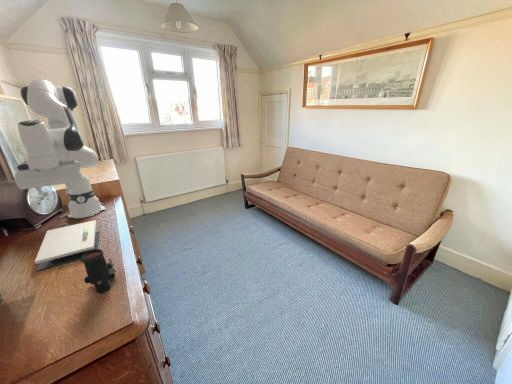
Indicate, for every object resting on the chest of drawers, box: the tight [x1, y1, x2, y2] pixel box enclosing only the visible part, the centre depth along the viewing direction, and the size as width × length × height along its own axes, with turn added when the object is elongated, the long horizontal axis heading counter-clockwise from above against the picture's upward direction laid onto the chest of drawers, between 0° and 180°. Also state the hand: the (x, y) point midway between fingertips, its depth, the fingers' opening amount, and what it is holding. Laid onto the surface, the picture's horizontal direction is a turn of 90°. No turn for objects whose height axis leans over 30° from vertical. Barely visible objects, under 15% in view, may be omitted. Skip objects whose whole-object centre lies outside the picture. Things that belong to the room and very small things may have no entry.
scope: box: [81, 248, 117, 294], centre depth 70 cm, size 8×14×10 cm
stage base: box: [35, 230, 102, 273], centre depth 94 cm, size 23×19×4 cm
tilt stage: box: [34, 219, 97, 265], centre depth 93 cm, size 22×18×3 cm
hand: (57, 194), depth 91 cm, fingers open, 6 cm apart
